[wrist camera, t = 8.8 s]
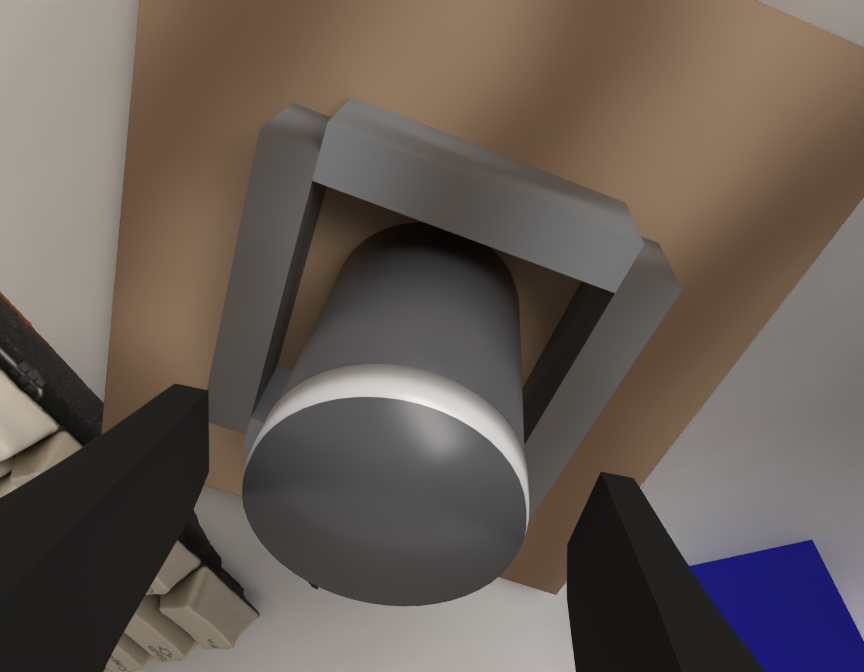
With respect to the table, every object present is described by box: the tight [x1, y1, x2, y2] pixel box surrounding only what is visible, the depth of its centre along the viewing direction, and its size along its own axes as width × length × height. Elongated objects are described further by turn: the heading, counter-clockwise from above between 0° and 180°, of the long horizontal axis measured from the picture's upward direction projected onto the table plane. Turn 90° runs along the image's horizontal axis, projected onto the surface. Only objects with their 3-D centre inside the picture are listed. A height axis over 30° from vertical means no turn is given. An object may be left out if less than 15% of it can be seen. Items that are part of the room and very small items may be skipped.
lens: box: [242, 222, 529, 606], centre depth 14 cm, size 5×5×7 cm
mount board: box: [101, 0, 864, 595], centre depth 16 cm, size 16×18×4 cm
